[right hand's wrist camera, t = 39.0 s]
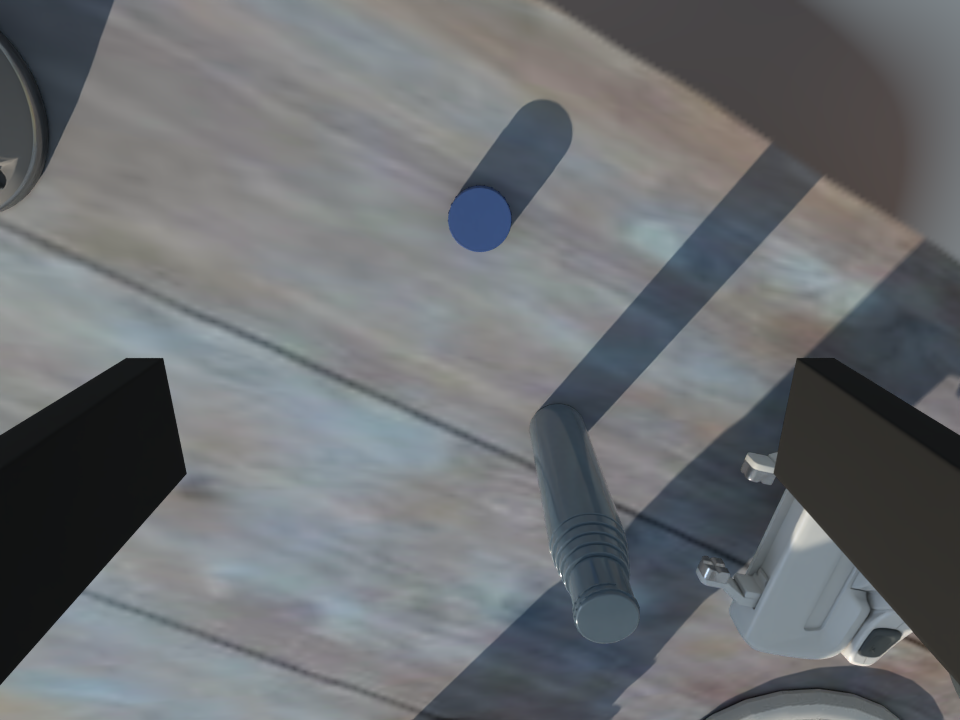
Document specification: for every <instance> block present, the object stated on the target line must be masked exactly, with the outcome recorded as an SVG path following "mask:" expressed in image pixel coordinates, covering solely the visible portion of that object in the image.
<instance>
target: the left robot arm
mask: <svg viewBox="0 0 960 720" xmlns="http://www.w3.org/2000/svg"><path fill="white" fill-rule="evenodd" d="M777 453H778V452H775V453H772V454H769V455H768V456H765V455H761V454H756V453H751V452H749V453H747V455H746V458H745V460H744V463H743V465H742V467H741V469H740V471H741V472H742V473H744V475H745V477H746V478H747V479H748V480H750V481H753V482H760V481H761V482H762V483H763V484H767V485H772V483H773V481H774V479H775V477H776V476H775V475H774V474H773V473H774V468H775V463H776V458H777ZM696 574H697V576H698V578H699V580H700V582H702V583H703V584H704V585H707V586H711V587H716V588H722V589H723V590H724V591H725V592H726V593H727V594H728V595H729V596H730V597H731V598H733V601H732V603H731V605H730V608H729V614H730V616H731V618H732V620H733V622H734V624H735V626H736V628H737V630H738V631H739V633H740V635H741V636H742V638H743V639H744V641H745V642H746V643H747V644H748V645H749V646H750V647H751V648H753V649H755V650H757V651H760V652H764V653H769V654H775V655H780V656H787V657H794V658H803V659H826V658H830V657H833V656H835V655H837V654H839V653H842V654H843V655H844V657H845V658H846V659H847V660H848V661H849V662H850V663H852V664H855V665H859V666H869V665H871V664H873V663H875V662H876V661H877V660H878V659H880V658H881V657H882V656H883V655H884V654H885V653H886V652H887V651H888V650H890V649H891V648H892V647H893V646H894V645H895V644H897V643H898V642H899V641H901V640H902V639H903V638H905V637H906V636H907V635H909V634H910V633H912V632H913V631H912V630H911V629H910V628H909V627H908V626H907V625H906V624H905V622H904V621H903V620H902V619H901V618H900V617H899V616H898V614H897V613H896V612H895V611H894V610H893V609H892V608H891V607H890V605H889V604H888V603H887V602H886V601H885V600H884V599H883V597H882V596H881V595H880V594H879V593H878V592H877V591H876V589H875V588H874V587H873V586H872V585H871V584H870V583H869V582H868V580H867V579H866V578H865V577H864V576H863V575H862V574H861V572H860V571H859V570H858V569H857V568H856V567H855V566H854V565H853V563H852V562H851V561H850V560H849V559H848V558H847V557H846V555H845V554H844V553H843V552H842V551H841V550H840V549H839V548H838V546H837V545H836V544H835V543H834V542H833V541H832V540H831V538H830V537H829V536H828V535H827V534H826V533H825V532H824V531H823V529H822V528H821V527H820V526H819V525H818V524H817V523H816V521H815V520H814V519H813V518H812V517H811V516H810V515H809V514H808V512H807V511H806V510H805V509H804V508H803V507H802V506H801V504H800V503H799V502H798V501H797V500H796V499H795V498H794V497H793V495H792V494H791V493H790V492H789V491H788V490H787V489H785V492H784V494H783V496H782V498H781V500H780V502H779V504H778V506H777V508H776V511H775V513H774V515H773V517H772V519H771V521H770V523H769V525H768V527H767V530H766V532H765V534H764V536H763V538H762V540H761V542H760V544H759V547H758V549H757V551H756V553H755V555H754V557H753V559H752V561H751V563H750V566H749V568H748V570H747V572H746V574H745V575H744V574H739V573H736V574H735V575H734V579H732V578H731V577H730V572H729V571H728V569H727V568H725V564H724V562H723V561H722V559H720V558H715V557H713V558H709V557H708V556H702V558H701V561H700V563H699V565H698V567H697V570H696ZM949 674H950V673H949ZM950 677H951V680H952V683H953V685H954V688H955V690H956V692H957V694H958V696H959V698H960V685H959V684H958V682H957V681H956V680H955V679H954V678H953V677H952V676H951V675H950Z"/></svg>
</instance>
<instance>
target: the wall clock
mask: <svg viewBox="0 0 960 720" xmlns="http://www.w3.org/2000/svg"><path fill="white" fill-rule="evenodd" d="M706 720H900V719H899V718H898V717H896V716H895V715H894V714H893V713H891V712H890V711H889V710H888V709H886V708H885V707H884V706H883V705H880V704H878V703H875V702H872V701H870V700H867V699H865V698H862V697H860V696H857V695H855V694H850V693H843V692H836V691H830V690H823V689H809V690H791V691H780V692H775V693H771V694H767V695H763V696H759V697H755V698H751V699H747V700H744V701H741V702H739V703H737V704H735V705H733V706H730V707H728V708H726V709H724V710H722V711H719V712H717V713H715V714H713V715H711V716H710V717H708V718H707V719H706Z"/></svg>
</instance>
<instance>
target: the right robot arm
mask: <svg viewBox="0 0 960 720" xmlns="http://www.w3.org/2000/svg"><path fill="white" fill-rule="evenodd" d="M47 152H48V123H47V116H46V111H45V107H44V103H43V100H42V97H41V94H40V91H39V89H38V86H37V84H36V82H35V80H34V78H33V75H32V74H31V72H30V70H29V68H28V67H27V65H26V63H25V62H24V60H23V59H22V57H21V56H20V54H19V53H18V51H17V50H16V49H15V48H14V46H13V45H12V44H11V43H10V41H9V40H8V39H7V38H6V37H5V36H4V35H3V34H2V33H1V32H0V212H1V211H4V210H6V209H8V208H10V207H12V206H14V205H16V204H17V203H18V202H20V201H21V200H22V199H23V198H24V197H25V196H26V195H27V194H28V193H29V192H30V191H31V190H32V188H33V187H34V186H35V184H36V183H37V181H38V179H39V177H40V175H41V173H42V171H43V168H44V165H45V161H46V157H47ZM186 474H187V473H186V468H185V463H184V458H183V453H182V448H181V443H180V439H179V434H178V429H177V424H176V419H175V414H174V409H173V404H172V399H171V394H170V389H169V385H168V380H167V375H166V370H165V365H164V360H163V358H126V359H124V360H122V361H121V362H119V363H117V364H116V365H114V366H113V367H111V368H109V369H108V370H106V371H104V372H103V373H101V374H100V375H98V376H96V377H95V378H93V379H91V380H90V381H88V382H87V383H85V384H83V385H82V386H80V387H78V388H77V389H75V390H73V391H72V392H70V393H69V394H67V395H65V396H64V397H62V398H60V399H59V400H57V401H56V402H54V403H52V404H51V405H49V406H47V407H46V408H44V409H42V410H41V411H39V412H38V413H36V414H34V415H33V416H31V417H29V418H28V419H26V420H25V421H23V422H21V423H20V424H18V425H16V426H15V427H13V428H11V429H10V430H8V431H7V432H5V433H3V434H2V435H0V685H1V684H2V682H3V681H4V680H5V679H6V678H7V677H8V676H9V675H10V673H11V672H12V671H13V670H14V669H15V668H16V667H17V665H18V664H19V663H20V662H21V661H22V660H23V659H24V658H25V656H26V655H27V654H28V653H29V652H30V651H31V650H32V648H33V647H34V646H35V645H36V644H37V643H38V642H39V641H40V639H41V638H42V637H43V636H44V635H45V634H46V633H47V631H48V630H49V629H50V628H51V627H52V626H53V625H54V624H55V622H56V621H57V620H58V619H59V618H60V617H61V616H62V614H63V613H64V612H65V611H66V610H67V609H68V608H69V607H70V605H71V604H72V603H73V602H74V601H75V600H76V599H77V597H78V596H79V595H80V594H81V593H82V592H83V591H84V589H85V588H86V587H87V586H88V585H89V584H90V583H91V582H92V580H93V579H94V578H95V577H96V576H97V575H98V574H99V572H100V571H101V570H102V569H103V568H104V567H105V566H106V565H107V563H108V562H109V561H110V560H111V559H112V558H113V557H114V555H115V554H116V553H117V552H118V551H119V550H120V549H121V548H122V546H123V545H124V544H125V543H126V542H127V541H128V540H129V538H130V537H131V536H132V535H133V534H134V533H135V532H136V531H137V529H138V528H139V527H140V526H141V525H142V524H143V523H144V521H145V520H146V519H147V518H148V517H149V516H150V515H151V514H152V512H153V511H154V510H155V509H156V508H157V507H158V506H159V504H160V503H161V502H162V501H163V500H164V499H165V498H166V497H167V495H168V494H169V493H170V492H171V491H172V490H173V489H174V487H175V486H176V485H177V484H178V483H179V482H180V481H181V480H182V478H183V477H184V476H185V475H186ZM773 474H774V475H775V476H776V477H777V478H778V480H779V481H780V482H781V483H782V484H783V485H784V486H785V487H786V489H787V490H788V491H789V492H790V493H791V494H792V495H793V497H794V498H795V499H796V500H797V501H798V502H799V503H800V504H801V506H802V507H803V508H804V509H805V510H806V511H807V512H808V514H809V515H810V516H811V517H812V518H813V519H814V520H815V521H816V523H817V524H818V525H819V526H820V527H821V528H822V529H823V531H824V532H825V533H826V534H827V535H828V536H829V537H830V538H831V540H832V541H833V542H834V543H835V544H836V545H837V546H838V548H839V549H840V550H841V551H842V552H843V553H844V554H845V555H846V557H847V558H848V559H849V560H850V561H851V562H852V563H853V565H854V566H855V567H856V568H857V569H858V570H859V571H860V572H861V574H862V575H863V576H864V577H865V578H866V579H867V580H868V582H869V583H870V584H871V585H872V586H873V587H874V588H875V589H876V591H877V592H878V593H879V594H880V595H881V596H882V597H883V599H884V600H885V601H886V602H887V603H888V604H889V605H890V607H891V608H892V609H893V610H894V611H895V612H896V613H897V614H898V616H899V617H900V618H901V619H902V620H903V621H904V622H905V624H906V625H907V626H908V627H909V628H910V629H911V630H912V631H913V633H914V634H915V635H916V636H917V637H918V638H919V639H920V641H921V642H922V643H923V644H924V645H925V646H926V647H927V648H928V650H929V651H930V652H931V653H932V654H933V655H934V656H935V658H936V659H937V660H938V661H939V662H940V663H941V664H942V665H943V667H944V668H945V669H946V670H947V671H948V672H949V673H950V675H951V676H952V677H953V678H954V679H955V680H956V681H957V682H958V684H959V685H960V435H958V434H957V433H955V432H953V431H952V430H950V429H949V428H947V427H945V426H944V425H942V424H940V423H939V422H937V421H935V420H934V419H932V418H931V417H929V416H927V415H926V414H924V413H922V412H921V411H919V410H918V409H916V408H914V407H913V406H911V405H909V404H908V403H906V402H904V401H903V400H901V399H900V398H898V397H896V396H895V395H893V394H891V393H890V392H888V391H887V390H885V389H883V388H882V387H880V386H878V385H877V384H875V383H873V382H872V381H870V380H869V379H867V378H865V377H864V376H862V375H860V374H859V373H857V372H856V371H854V370H852V369H851V368H849V367H847V366H846V365H844V364H843V363H841V362H839V361H838V360H836V359H834V358H797V360H796V365H795V370H794V375H793V380H792V385H791V389H790V394H789V399H788V404H787V409H786V414H785V419H784V424H783V429H782V434H781V439H780V443H779V448H778V453H777V458H776V463H775V468H774V473H773Z"/></svg>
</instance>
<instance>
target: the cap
mask: <svg viewBox="0 0 960 720" xmlns="http://www.w3.org/2000/svg"><path fill="white" fill-rule="evenodd" d="M509 207H510V206H509V204H507V202H506V199H505V197H503V196H502V195H501V194H500V193H499V191H496V190H495V189H493V188H492V187H491V188H490V187H487V186H485V185H484V186H477V185H476V186H473V187H468V188H467V189H465V190H464V191H461V193H460V194H459V195H458V196H456V197H455V200H454V201H453V203H452V204H451V208H450V210H449V212H448V214H449V216H448V223H449V230H450V231H451V234H452V236H453V237H454V239H455V240H456V241H457V243H459V244H460V245H461V246H462V247H464V248H466V249H468V250H471V251H475V252H485V251H489V250H492V249H494V248H496V247H497V246H499V245H500V244H501V243H502V242H503V241H504V240H505V238H506V237H507V235H508V233H509V231H510V227H511V223H512V221H511V215H512V214H511V211H510V209H509Z"/></svg>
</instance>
